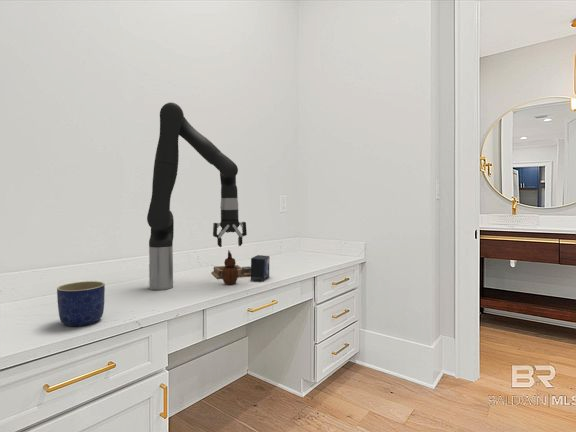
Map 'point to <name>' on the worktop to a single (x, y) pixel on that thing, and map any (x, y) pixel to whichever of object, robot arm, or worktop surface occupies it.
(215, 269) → the wooden tray
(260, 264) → the small box
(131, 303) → the worktop surface
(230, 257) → the wooden figurine
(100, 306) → the planter
